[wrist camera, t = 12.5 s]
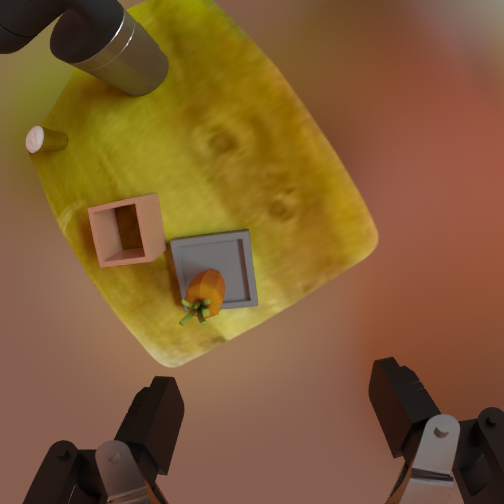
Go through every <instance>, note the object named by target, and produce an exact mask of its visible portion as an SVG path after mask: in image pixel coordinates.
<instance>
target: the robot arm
mask: <svg viewBox="0 0 504 504" xmlns="http://www.w3.org/2000/svg"><path fill="white" fill-rule="evenodd" d="M62 13H63V14H62ZM61 14H62V16H61V17H60V19H59V20H58V22H57V23H56V25H55V27H54V29H53V32H52V35H51V38H50V49H51V52H52V54H53V55H54V56H55V57H56V58H58V59H60V60H62V61H64V62H66V63H68V64H70V65H73V66H74V67H76V68H79V69H81V70H83V71H85V72H87V73H89V74H91V75H93V76H95V77H96V78H98V79H100V80H102V81H104V82H106V83H108V84H110V85H112V86H113V87H115V88H117V89H119V90H121V91H123V92H125V93H126V94H128V95H132V96H140V95H144V94H147V93H149V92H151V91H153V90H154V89H155V88H157V87H158V86H159V85H160V84H161V82H162V81H163V80H164V78H165V77H166V74H167V72H168V60H167V57H166V56H165V54H164V53H163V52H162V51H161V50H160V48H159V46H158V44H157V43H156V42H155V41H154V40H153V38H152V37H151V36H150V35H149V34H148V33H147V31H146V30H145V29H144V28H143V27H142V26H141V24H140V23H138V22H136V21H135V20H134V18H133V17H132V16H131V15H130V14H129V13H128V12H127V11H126V10H125V9H124V8H123V7H122V5H121V4H120V3H119V2H118V1H117V0H0V54H10V53H13V52H16V51H18V50H20V49H21V48H23V47H24V46H25V45H27V44H28V43H29V42H30V41H31V40H32V39H33V38H34V37H35V36H37V35H38V34H39V33H40V32H41V31H42V30H43V29H45V28H46V27H47V26H48V25H49V24H50V23H51V22H53V21H54V20H55V19H56V18H57V17H59V16H60V15H61ZM369 398H370V401H371V403H372V406H373V408H374V411H375V413H376V415H377V418H378V420H379V422H380V425H381V427H382V430H383V432H384V435H385V437H386V440H387V442H388V445H389V447H390V450H391V453H392V455H393V458H398V457H400V456H403V457H404V459H405V462H404V464H403V466H402V468H401V471H400V473H399V475H398V478H397V480H396V482H395V484H394V486H393V489H392V491H391V493H390V495H389V497H388V499H387V500H386V503H385V504H447V502H448V499H449V496H450V493H451V490H452V486H453V482H454V479H453V477H450V473H451V470H452V472H453V474H454V477H455V479H456V482H457V484H458V487H459V490H460V493H461V495H462V498H463V501H464V504H504V412H503V411H501V410H500V409H498V408H495V407H489V408H486V409H484V410H483V411H482V412H481V413H480V414H479V416H478V418H477V419H472V420H466V421H457V420H456V419H455V418H454V417H452V416H449V415H444V414H443V415H442V414H441V413H440V411H439V409H438V408H437V406H436V405H435V403H434V401H433V400H432V398H431V397H430V395H429V394H428V392H427V391H426V389H424V386H423V385H422V383H421V382H420V380H419V378H418V377H417V375H416V374H415V372H413V371H412V370H410V369H409V368H408V367H406V366H402V367H400V366H399V365H398V363H397V362H396V360H395V359H394V358H393V357H388V358H384V359H379V360H375V361H374V364H373V369H372V374H371V379H370V384H369ZM183 416H184V402H183V400H182V397H181V394H180V391H179V389H178V386H177V383H176V380H175V379H174V377H164V376H155V377H154V379H153V381H152V383H151V385H150V387H144V388H143V389H142V390H141V391H140V392H138V393H137V394H136V396H135V398H134V400H133V402H132V405H131V406H130V408H129V410H128V413H127V414H126V416H125V418H124V420H123V422H122V424H121V426H120V428H119V430H118V432H117V434H116V437H115V439H114V440H112V441H107V442H105V443H103V444H102V445H100V446H99V447H98V449H96V450H78V449H77V448H76V446H75V445H74V444H73V443H71V442H69V441H64V440H62V441H58V442H56V443H54V444H53V445H52V446H51V447H50V449H49V451H48V453H47V455H46V456H45V458H44V460H43V462H42V464H41V466H40V468H39V470H38V472H37V474H36V476H35V478H34V480H33V482H32V484H31V486H30V489H29V491H28V493H27V495H26V497H25V500H24V502H23V504H68V501H69V499H70V501H69V504H169V503H168V501H167V500H166V498H165V496H164V495H163V493H162V491H161V490H160V488H159V486H158V484H157V483H156V481H155V480H156V477H157V474H160V475H167V473H168V470H169V466H170V463H171V459H172V455H173V452H174V448H175V444H176V441H177V437H178V434H179V430H180V427H181V423H182V420H183ZM74 486H75V488H74ZM73 488H74V490H73ZM72 491H73V493H72ZM71 493H72V496H71ZM70 496H71V498H70ZM108 497H109V502H107V500H108Z"/></svg>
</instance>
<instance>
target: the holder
mask: <svg viewBox="0 0 504 504" xmlns="http://www.w3.org/2000/svg"><path fill="white" fill-rule="evenodd" d="M134 203H135V205H136V211H137V217H138V222H139V228H140V233H141V238H142V243H143V247H141V248H133V249H126V250H123V247H122V243H121V238H120V233H119V228H118V223H117V217H116V212H115V208H116V207H120V206H125V205H130V204H134ZM88 214H89V220H90V225H91V230H92V235H93V239H94V244H95V248H96V253H97V257H98V261H99V265H100V268H102V267H111V266H119V265H128V264H136V263H145V262H152V261H153V260H154V259H156V258H157V257H158V256H159V255H160V254H162V253H163V252H164V251H165V250H166V249H167V245H166V240H165V234H164V229H163V223H162V218H161V212H160V206H159V199H158V193H155V194H149V195H144V196H139V197H134V198H130V199H125V200H121V201H116V202H112V203H108V204H104V205H99V206H95V207H91V208H88Z"/></svg>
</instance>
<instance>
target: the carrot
mask: <svg viewBox="0 0 504 504" xmlns="http://www.w3.org/2000/svg"><path fill="white" fill-rule="evenodd" d="M225 288H226V287H225V282H224V279H223V277H222V275H221V273H220V271H218V270H215V269H212V268H210V269H208V270H206V271H203V272H201V273H200V274H198V275H197V276H195V278H194V279H193V280H192V281H191V283H190V284H189V286H188V288H187V292H186V295H185V298H184V299H181V304H183V305H184V306H186V307H187V309H188V310H189V313H188V314H187V315H186V316H185V317H184V318H183V319H181V321H180V322H179V324H180V325H182V326H184V325H185V324H186V323H187V322H188V321H189V320H190V319H191V318H192V317H193V316H197V317H198V320H199V322H200V323H201V325H206V324H207V322H206V320H205V319H207V318H209V317H212V316H215V315H217V314H218V313H219V311H220V308H221V305H222V303H223V300H224V295H225Z"/></svg>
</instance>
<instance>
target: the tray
mask: <svg viewBox="0 0 504 504" xmlns="http://www.w3.org/2000/svg"><path fill="white" fill-rule="evenodd" d="M170 244H171V249H172V255H173V259H174V264H175V269H176V274H177V278H178V283H179V287H180V292H181V296H182V299H184V298H185V295H186V292H187V288H188V286H189V284H190V283H191V281H192V280H193V279H194V278H195V276H197V275H198V274H200V273H201V272H203V271H206V270H208V269H210V268H212V269H215V270H218V271H220V273H221V275H222V277H223V279H224V282H225V287H226V288H225V295H224V300H223V303H222V305H221V308H220V309H231V308H242V307H252V306H258V297H257V289H256V281H255V274H254V266H253V258H252V250H251V243H250V235H249V229H243V230H234V231H226V232H218V233H210V234H203V235H195V236H187V237H180V238H174V239H172V240H171V241H170ZM184 309H185V312H189V310H188V309H187V307H186V306H184Z"/></svg>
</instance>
